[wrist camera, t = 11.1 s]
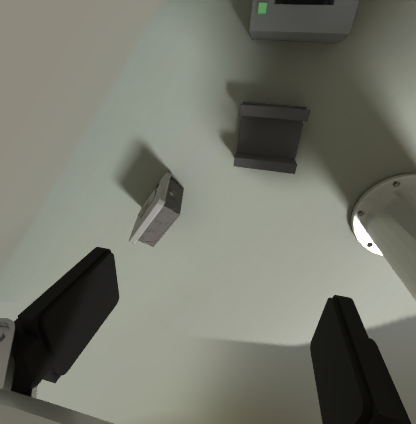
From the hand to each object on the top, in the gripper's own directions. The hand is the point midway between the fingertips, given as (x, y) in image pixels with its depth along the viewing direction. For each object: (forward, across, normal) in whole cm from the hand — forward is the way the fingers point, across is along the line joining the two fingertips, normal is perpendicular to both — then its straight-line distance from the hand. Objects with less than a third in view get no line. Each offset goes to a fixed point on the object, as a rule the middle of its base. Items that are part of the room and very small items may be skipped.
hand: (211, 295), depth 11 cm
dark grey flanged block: (+28, -2, -3) cm, 29 cm away
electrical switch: (+29, +13, +9) cm, 33 cm away
